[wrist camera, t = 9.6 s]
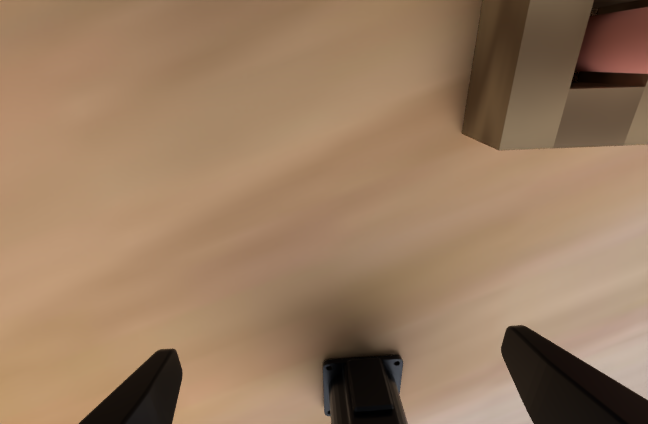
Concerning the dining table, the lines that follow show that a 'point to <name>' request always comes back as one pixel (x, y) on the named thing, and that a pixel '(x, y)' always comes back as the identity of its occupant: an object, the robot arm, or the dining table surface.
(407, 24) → the dining table surface
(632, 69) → the reddish pink rod
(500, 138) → the brown square holed block
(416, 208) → the dining table surface
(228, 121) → the dining table surface
